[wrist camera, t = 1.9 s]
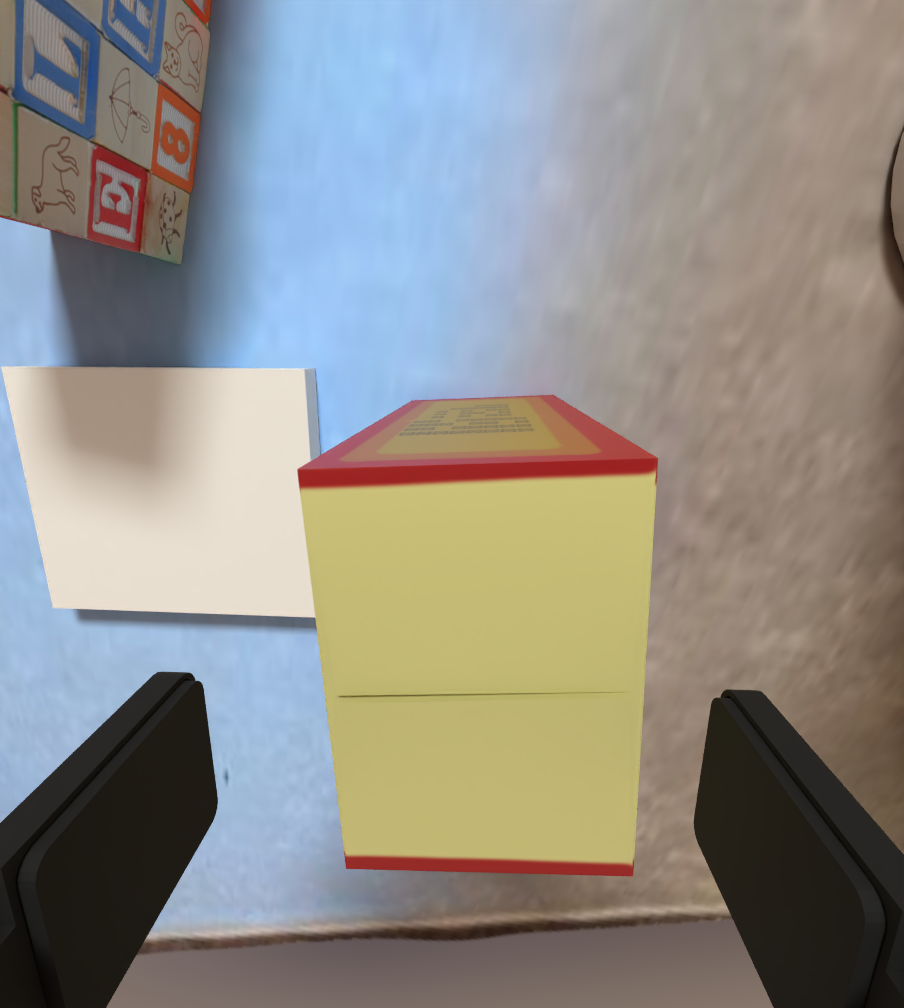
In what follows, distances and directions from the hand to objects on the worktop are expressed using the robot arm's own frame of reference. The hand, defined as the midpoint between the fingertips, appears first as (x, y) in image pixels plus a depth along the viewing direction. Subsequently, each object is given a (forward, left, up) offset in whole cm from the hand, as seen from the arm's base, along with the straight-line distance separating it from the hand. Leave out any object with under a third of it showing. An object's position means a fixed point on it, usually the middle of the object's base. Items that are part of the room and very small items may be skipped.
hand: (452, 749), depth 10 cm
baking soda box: (-1, 0, -17) cm, 17 cm away
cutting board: (+14, 0, -17) cm, 22 cm away
